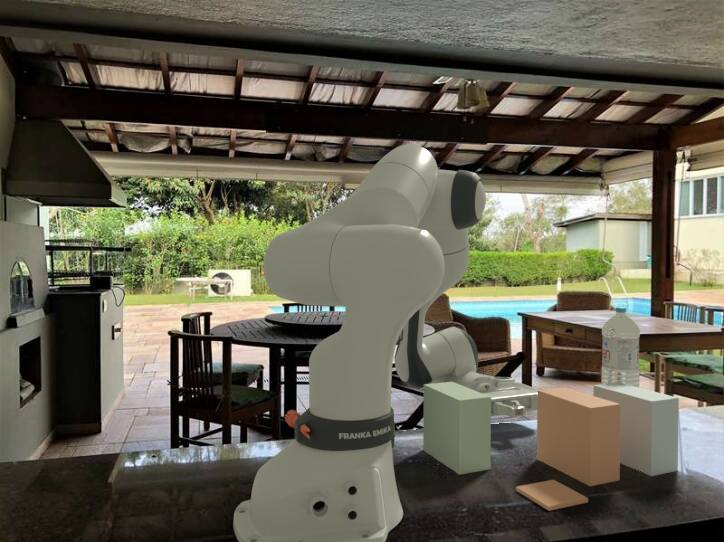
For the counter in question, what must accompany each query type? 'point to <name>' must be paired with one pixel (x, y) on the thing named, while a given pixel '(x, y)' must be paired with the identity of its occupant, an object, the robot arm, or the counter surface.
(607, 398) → the blue-grey block
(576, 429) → the terracotta block
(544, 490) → the tile
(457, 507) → the counter surface
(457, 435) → the sage block
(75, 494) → the counter surface
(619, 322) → the water bottle
